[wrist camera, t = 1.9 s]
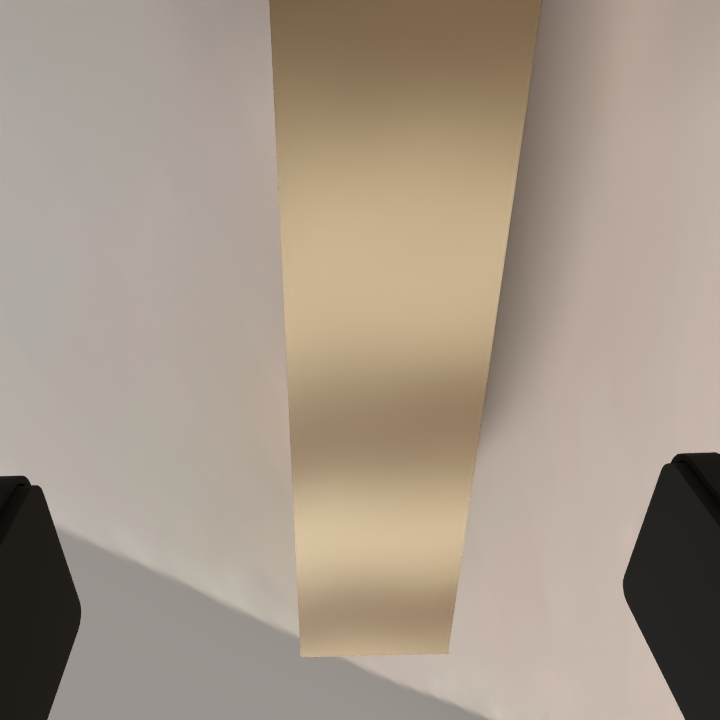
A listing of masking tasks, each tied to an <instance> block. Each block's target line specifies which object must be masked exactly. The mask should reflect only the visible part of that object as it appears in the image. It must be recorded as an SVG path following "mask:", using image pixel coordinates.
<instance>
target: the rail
mask: <svg viewBox="0 0 720 720" xmlns="http://www.w3.org/2000/svg"><path fill="white" fill-rule="evenodd" d="M269 3H270V23H271V44H272V65H273V86H274V107H275V128H276V149H277V170H278V191H279V212H280V233H281V254H282V274H283V295H284V316H285V337H286V358H287V379H288V400H289V421H290V442H291V463H292V484H293V505H294V525H295V546H296V567H297V588H298V609H299V630H300V648H301V649H300V651H301V657H319V656H320V657H321V656H322V657H323V656H368V655H412V654H448V649H449V642H450V635H451V628H452V622H453V615H454V608H455V601H456V594H457V587H458V580H459V573H460V566H461V559H462V552H463V545H464V538H465V531H466V524H467V517H468V511H469V504H470V497H471V490H472V483H473V476H474V469H475V462H476V455H477V448H478V441H479V434H480V427H481V420H482V413H483V406H484V399H485V393H486V386H487V379H488V372H489V365H490V358H491V351H492V344H493V337H494V330H495V323H496V316H497V309H498V302H499V295H500V288H501V282H502V275H503V268H504V261H505V254H506V247H507V240H508V233H509V226H510V219H511V212H512V205H513V198H514V191H515V184H516V177H517V170H518V164H519V157H520V150H521V143H522V136H523V129H524V122H525V115H526V108H527V101H528V94H529V87H530V80H531V73H532V66H533V59H534V52H535V46H536V39H537V32H538V25H539V18H540V11H541V4H542V0H269Z"/></svg>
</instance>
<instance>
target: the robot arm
mask: <svg viewBox="0 0 720 720" xmlns="http://www.w3.org/2000/svg"><path fill="white" fill-rule="evenodd" d="M623 590H624V595H625V599H626V601H627V604H628V606H629V608H630V610H631V612H632V614H633V616H634V618H635V620H636V622H637V624H638V626H639V628H640V630H641V632H642V634H643V636H644V638H645V640H646V642H647V644H648V646H649V648H650V650H651V652H652V654H653V656H654V658H655V660H656V662H657V664H658V666H659V668H660V670H661V672H662V674H663V676H664V678H665V680H666V682H667V684H668V686H669V688H670V690H671V692H672V694H673V696H674V698H675V700H676V702H677V704H678V706H679V708H680V710H681V712H682V714H683V716H684V718H685V720H720V454H718V453H716V452H714V453H684V454H677V455H676V456H675V457H674V458H673V460H672V462H671V463H669V464H666V465H664V466H663V468H662V470H661V473H660V475H659V478H658V481H657V484H656V487H655V490H654V493H653V495H652V498H651V501H650V504H649V507H648V510H647V513H646V515H645V518H644V521H643V524H642V527H641V530H640V533H639V535H638V538H637V541H636V544H635V547H634V550H633V553H632V555H631V558H630V561H629V564H628V567H627V570H626V573H625V575H624V579H623ZM80 619H81V605H80V601H79V598H78V595H77V592H76V589H75V586H74V583H73V581H72V577H71V574H70V571H69V568H68V565H67V562H66V559H65V557H64V553H63V550H62V548H61V544H60V542H59V538H58V536H57V532H56V529H55V526H54V523H53V520H52V517H51V515H50V512H49V509H48V506H47V503H46V500H45V497H44V494H43V491H42V489H41V488H40V487H39V486H37V485H32V486H31V484H30V482H29V480H28V479H27V478H26V477H25V476H0V720H47V719H48V716H49V713H50V709H51V707H52V704H53V701H54V698H55V695H56V693H57V690H58V687H59V684H60V681H61V678H62V675H63V672H64V670H65V667H66V664H67V661H68V658H69V655H70V652H71V649H72V646H73V644H74V641H75V638H76V635H77V632H78V629H79V625H80Z"/></svg>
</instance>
